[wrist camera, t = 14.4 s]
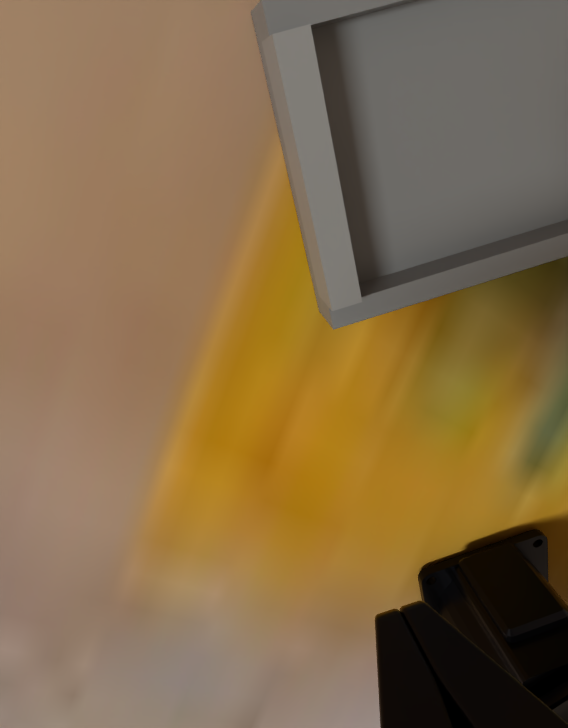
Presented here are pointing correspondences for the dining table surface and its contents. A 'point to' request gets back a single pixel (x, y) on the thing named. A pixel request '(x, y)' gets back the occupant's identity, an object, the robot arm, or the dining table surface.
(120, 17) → the dining table surface
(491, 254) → the tray
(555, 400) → the dining table surface
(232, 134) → the dining table surface
